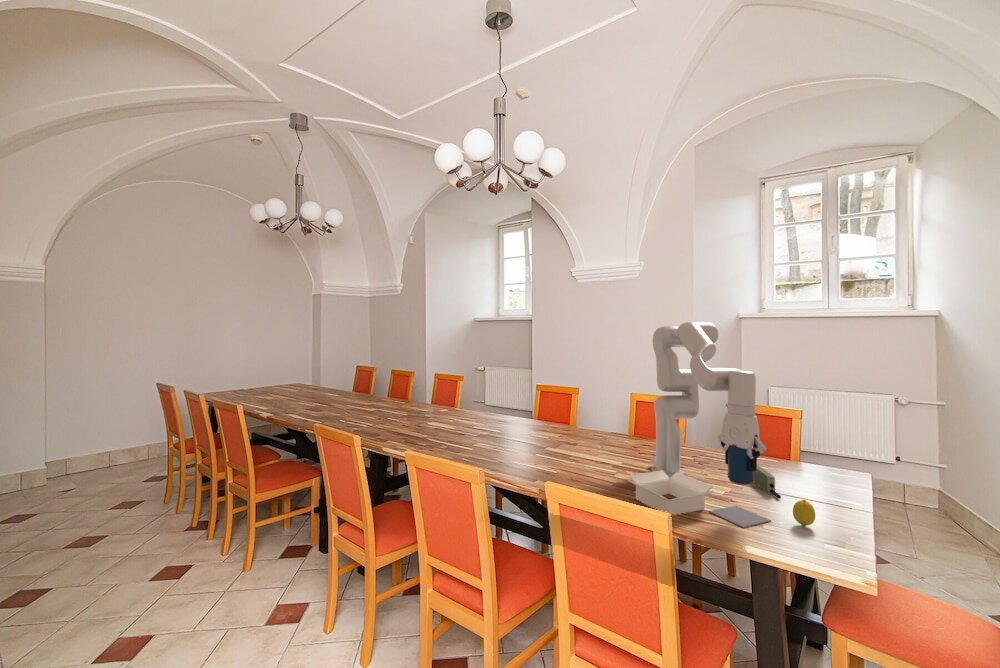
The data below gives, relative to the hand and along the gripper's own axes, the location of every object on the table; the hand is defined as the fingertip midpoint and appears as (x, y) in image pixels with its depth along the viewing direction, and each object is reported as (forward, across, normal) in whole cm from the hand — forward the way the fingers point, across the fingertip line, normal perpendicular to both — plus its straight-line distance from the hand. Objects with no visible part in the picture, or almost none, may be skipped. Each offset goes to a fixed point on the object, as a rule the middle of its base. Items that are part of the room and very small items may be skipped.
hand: (740, 466), depth 136 cm
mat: (+16, 0, 0) cm, 16 cm away
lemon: (+16, +12, +12) cm, 23 cm away
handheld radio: (+16, -15, +32) cm, 39 cm away
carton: (+16, -16, -13) cm, 26 cm away
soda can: (+5, 0, 0) cm, 5 cm away
